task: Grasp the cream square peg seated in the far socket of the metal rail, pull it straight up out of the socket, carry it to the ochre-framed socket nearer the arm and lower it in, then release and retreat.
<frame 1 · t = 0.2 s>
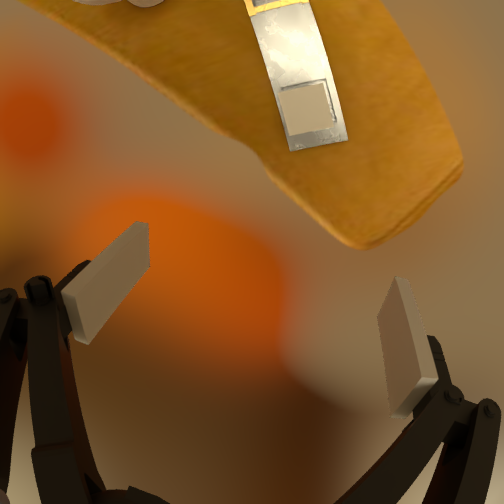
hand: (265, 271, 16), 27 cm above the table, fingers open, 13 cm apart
peg: (309, 103, 36), point 1 cm above the table, touching rail
rail: (291, 44, 33), on the table
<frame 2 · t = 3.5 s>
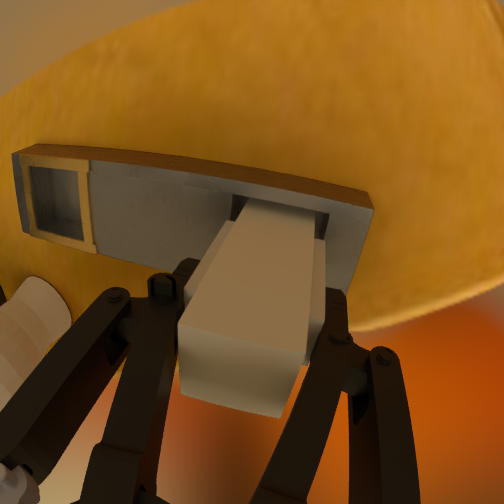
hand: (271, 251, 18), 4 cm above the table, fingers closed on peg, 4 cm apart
cup: (47, 303, 31), on the table
peg: (278, 228, 21), point 1 cm above the table, touching gripper, rail
rail: (166, 202, 22), on the table
when the fingers open (5 cm above the table, at t = 8.7 s): peg drops 1 cm, resting on rail.
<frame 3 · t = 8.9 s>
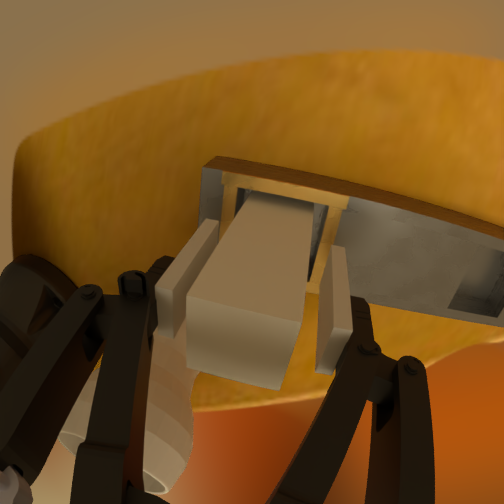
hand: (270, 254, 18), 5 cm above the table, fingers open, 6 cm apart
cup: (175, 337, 31), on the table
peg: (279, 219, 22), point 1 cm above the table, touching rail
rail: (389, 241, 22), on the table
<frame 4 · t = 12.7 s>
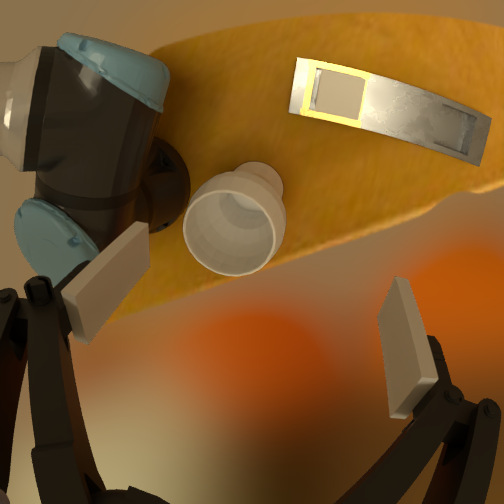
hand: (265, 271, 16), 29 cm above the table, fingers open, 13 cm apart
cup: (255, 187, 45), on the table
peg: (333, 92, 36), point 1 cm above the table, touching rail
rail: (393, 108, 35), on the table
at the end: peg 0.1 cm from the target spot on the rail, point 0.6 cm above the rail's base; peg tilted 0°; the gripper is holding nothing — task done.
